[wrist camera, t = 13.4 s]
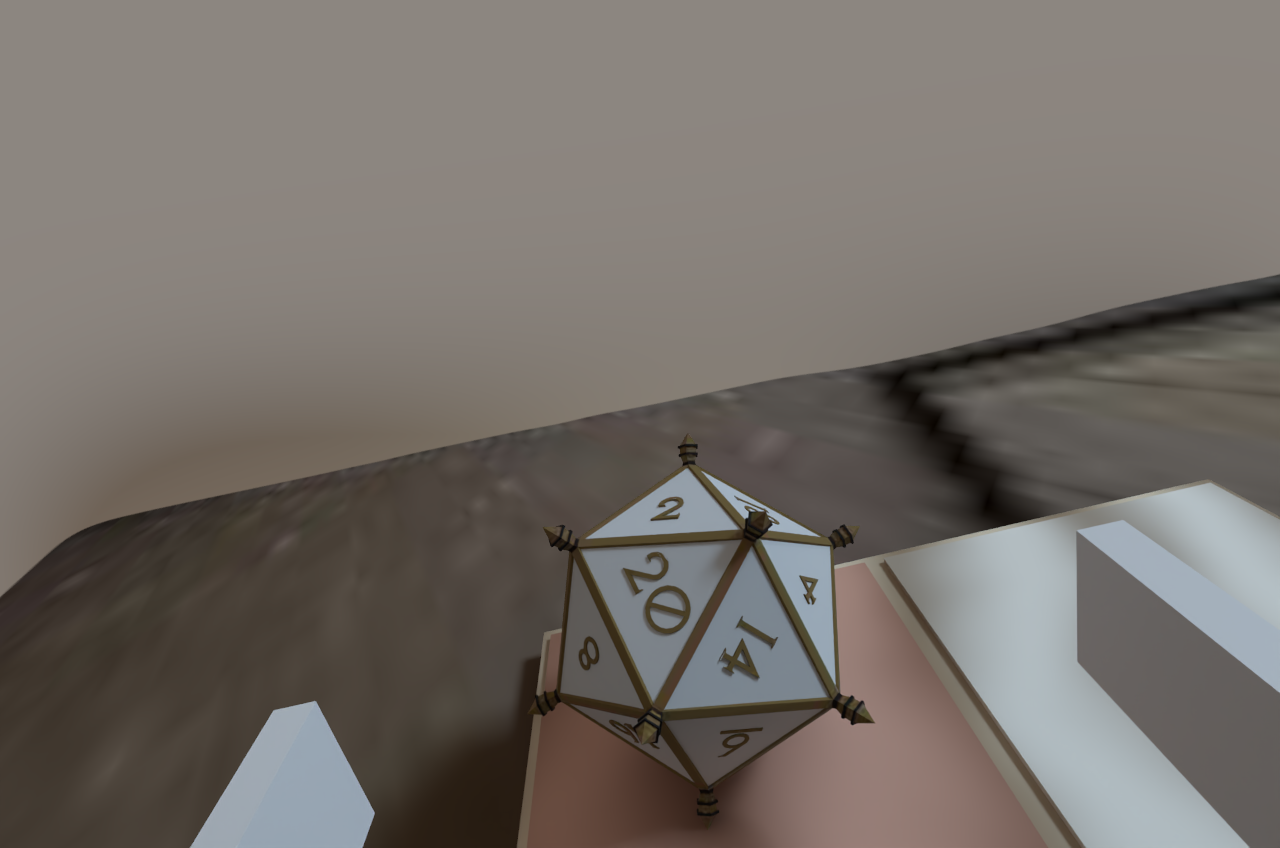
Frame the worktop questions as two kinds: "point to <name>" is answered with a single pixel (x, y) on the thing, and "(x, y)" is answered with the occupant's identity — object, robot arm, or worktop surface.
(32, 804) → the worktop surface
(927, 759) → the game board
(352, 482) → the worktop surface
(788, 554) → the game die
